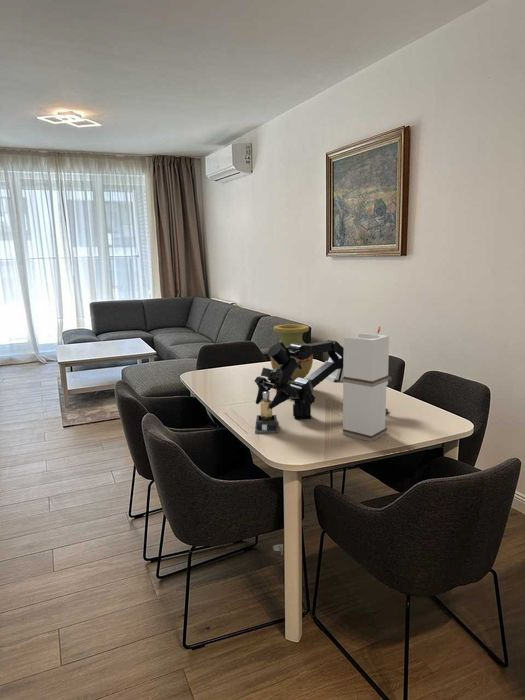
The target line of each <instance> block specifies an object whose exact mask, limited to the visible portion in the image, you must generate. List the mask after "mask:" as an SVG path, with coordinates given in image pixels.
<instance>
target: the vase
mask: <svg viewBox="0 0 525 700" xmlns="http://www.w3.org/2000/svg"><path fill="white" fill-rule="evenodd" d="M309 330H310V326H309V325H306V324H293V323H292V324H280V325H274V326H273V331H274V332H275V333H278V334H279V336H280V340H279V342H282V343H283V344H284V346H285V347H286V348H287V347H290V345H291V344H293V343H298V344H307V343H306V342H304V340H303V334H304V333H307V332H308V331H309ZM313 355H314V354H313ZM313 355H311V357H309V358H307V359H305V360H300V359H295V358H294V359H295V360H296V361H297V362H301V367H302V369H297V368H296V370H295V371H294V373H293V375H292V376H291V379H292V380H291V381H288V382H287V384H289V385H291V384H292V383H291V382H293V381H295V380H296V379H297V378H298V377H299V378H303V379H305V378H307V377H308V374H310V371H311V369H312V366H313V361H314V360H313V359H314V356H313ZM270 364H271V368H272V370H274V368H276V369H278V368H279V367H280V365H278V364H277V363H276V362H275V361H274V360H273V359H272V358H271V357H270Z"/></svg>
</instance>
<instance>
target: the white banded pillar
mask: <svg viewBox="0 0 525 700" xmlns="http://www.w3.org/2000/svg"><path fill="white" fill-rule="evenodd" d="M343 348H344V355H343V379H342V383H343V384H342V385H343V386H342V387H343V388H342V389H343V391H342V400H343V401H342V435H343V436H344V435H345V436H347V437H352V438H356V439H360V440H362V441H363V440H364V441H366V442H371V443H372V442H374V441H376V440H377V439H379V438H381V437H382V436H384V435H386V434H387V433H388V432H387V431H388V430H387V427H386V415H387V414H386V406H387V405H386V404H387V403H386V402H387V386H388V385H389V382H388V375H389V360H390V359H389V354H390V353H389V351H390V349H389V348H390V335H385V334H384V335H383V334H379V335H378V334H374V333H373V334H372V333H366V332H365V333H363V332H359V333H358V337H351V336H343Z"/></svg>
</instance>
